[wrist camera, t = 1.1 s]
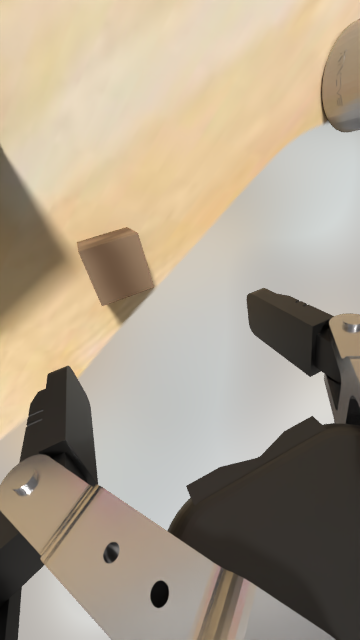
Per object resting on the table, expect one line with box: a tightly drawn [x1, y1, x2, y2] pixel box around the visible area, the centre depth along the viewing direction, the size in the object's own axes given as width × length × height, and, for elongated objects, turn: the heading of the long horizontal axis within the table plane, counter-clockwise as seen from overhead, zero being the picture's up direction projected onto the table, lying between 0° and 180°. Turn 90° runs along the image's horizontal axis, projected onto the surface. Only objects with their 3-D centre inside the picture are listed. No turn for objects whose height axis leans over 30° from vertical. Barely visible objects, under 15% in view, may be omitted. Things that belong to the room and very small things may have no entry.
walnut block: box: [77, 227, 154, 306], centre depth 24 cm, size 5×5×5 cm
